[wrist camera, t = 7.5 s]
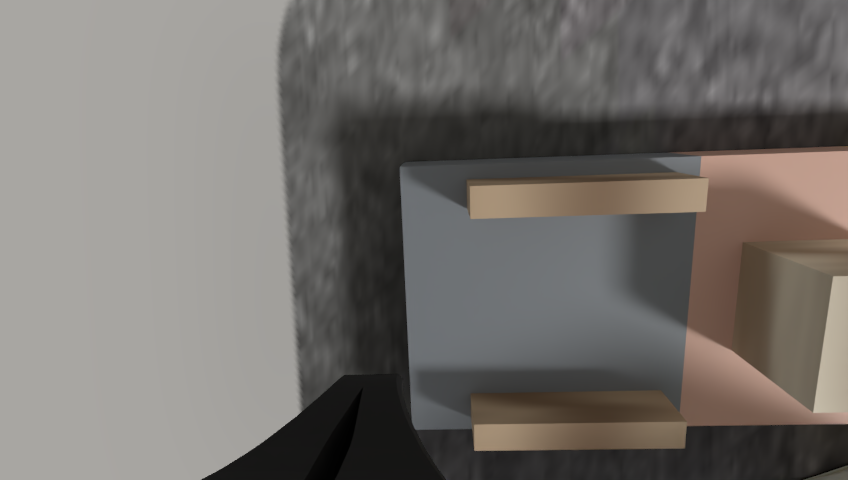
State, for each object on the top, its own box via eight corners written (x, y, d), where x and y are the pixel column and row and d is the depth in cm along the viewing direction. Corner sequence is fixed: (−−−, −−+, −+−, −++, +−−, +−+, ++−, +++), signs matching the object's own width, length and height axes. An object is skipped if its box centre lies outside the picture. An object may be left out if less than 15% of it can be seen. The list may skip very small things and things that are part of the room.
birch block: (731, 350, 18) (813, 413, 14) (742, 242, 17) (833, 276, 13) (846, 347, 18) (961, 410, 14) (863, 238, 17) (991, 271, 13)
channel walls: (470, 417, 19) (474, 450, 17) (466, 179, 17) (469, 186, 15) (659, 414, 18) (684, 448, 16) (677, 172, 16) (708, 178, 15)
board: (415, 395, 21) (412, 429, 19) (404, 162, 19) (399, 166, 17) (958, 386, 20) (1028, 421, 18) (1012, 139, 18) (1101, 142, 16)
